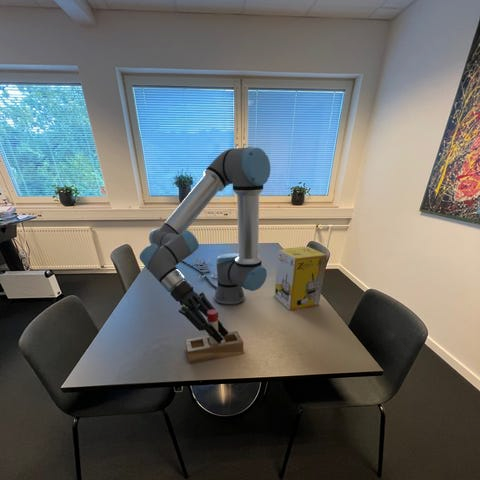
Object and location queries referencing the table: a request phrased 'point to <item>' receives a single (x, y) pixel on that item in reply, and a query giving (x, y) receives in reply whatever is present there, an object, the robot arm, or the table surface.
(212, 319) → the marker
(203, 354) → the pen holder
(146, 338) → the table surface
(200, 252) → the table surface
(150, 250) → the robot arm
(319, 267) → the packaging box
